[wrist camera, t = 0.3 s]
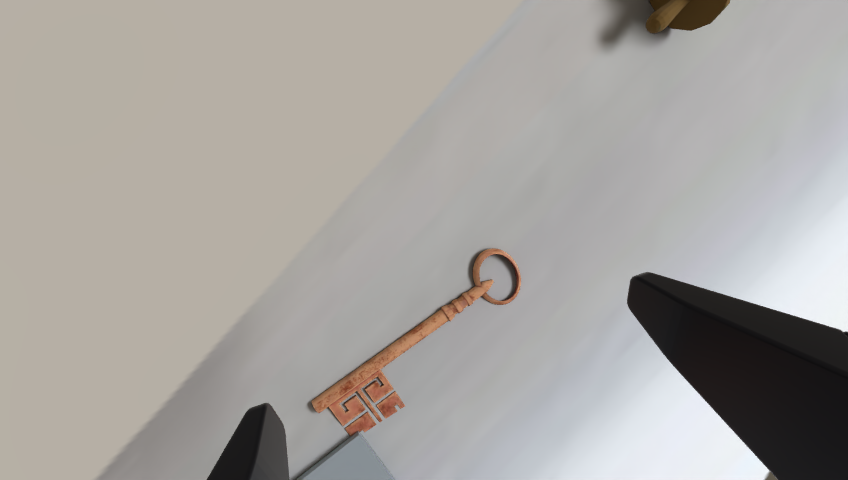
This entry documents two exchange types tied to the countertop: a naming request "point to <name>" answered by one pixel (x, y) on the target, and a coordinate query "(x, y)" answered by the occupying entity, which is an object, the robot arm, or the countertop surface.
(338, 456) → the mat
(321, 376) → the countertop surface
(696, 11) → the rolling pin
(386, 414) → the key
